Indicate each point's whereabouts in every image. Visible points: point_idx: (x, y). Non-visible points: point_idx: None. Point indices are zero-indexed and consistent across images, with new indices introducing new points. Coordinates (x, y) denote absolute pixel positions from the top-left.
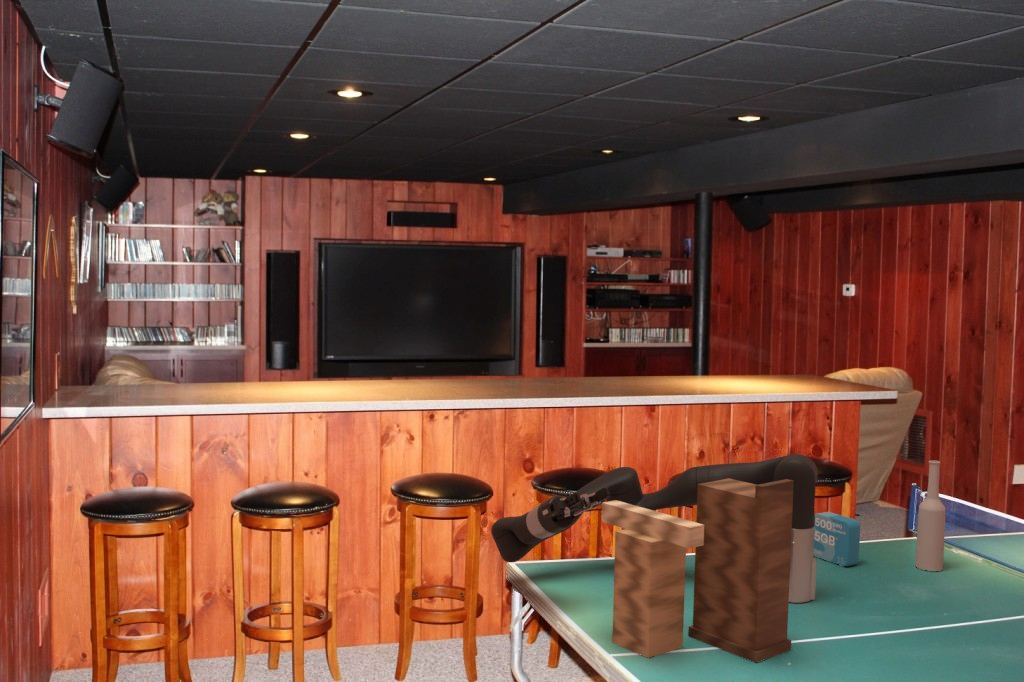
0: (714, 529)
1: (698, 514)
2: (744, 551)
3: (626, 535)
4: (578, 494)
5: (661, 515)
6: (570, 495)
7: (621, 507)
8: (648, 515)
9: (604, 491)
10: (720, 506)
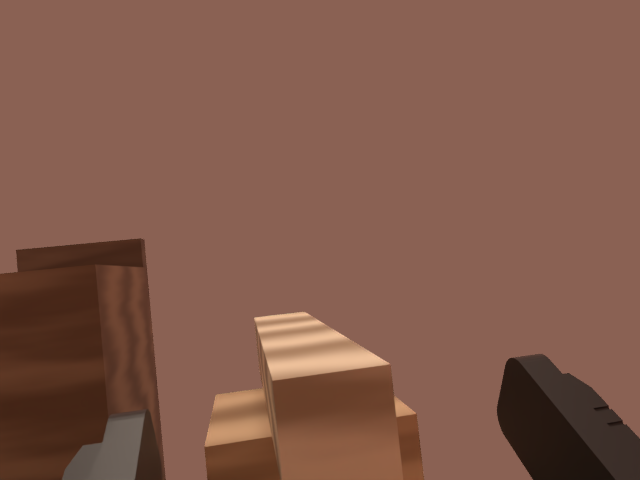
0: (126, 390)
1: (106, 370)
2: (150, 402)
3: (397, 400)
4: (516, 367)
5: (284, 327)
6: (597, 413)
7: (346, 344)
8: (322, 326)
9: (149, 453)
10: (124, 314)
